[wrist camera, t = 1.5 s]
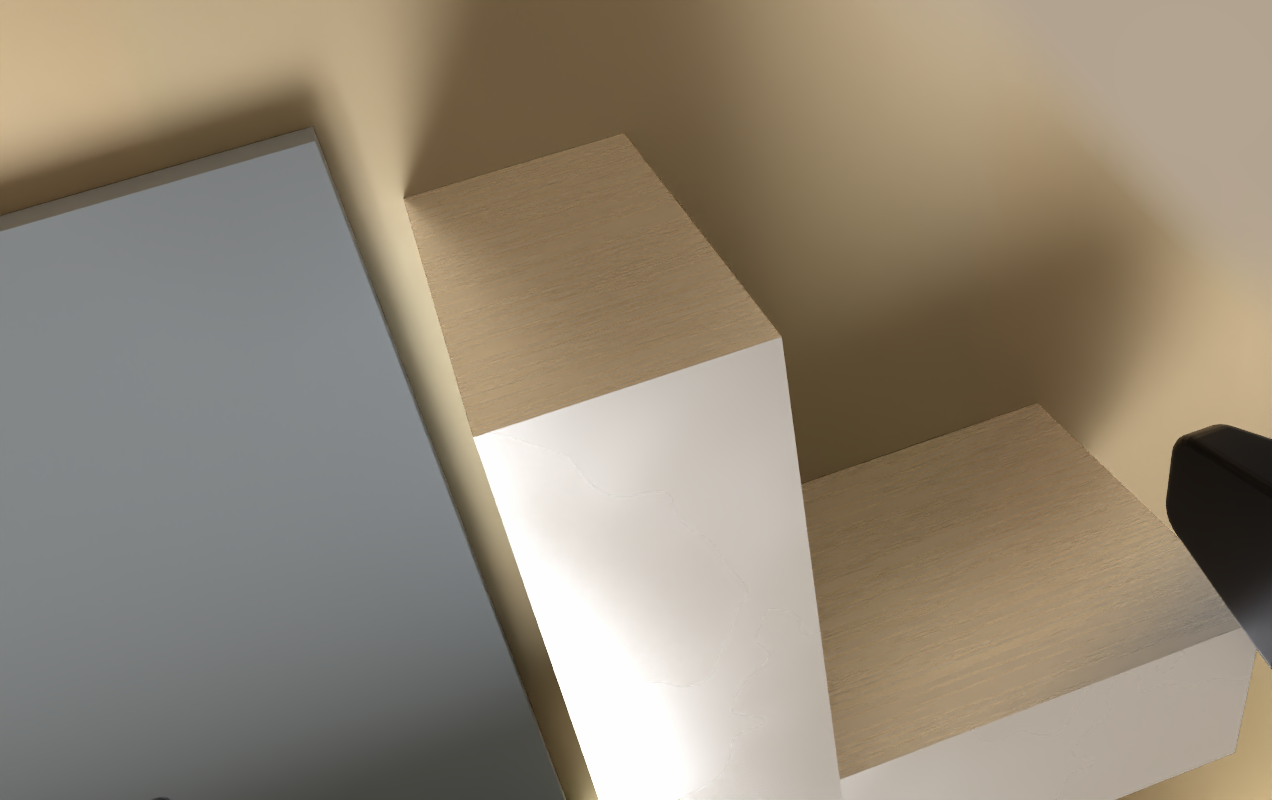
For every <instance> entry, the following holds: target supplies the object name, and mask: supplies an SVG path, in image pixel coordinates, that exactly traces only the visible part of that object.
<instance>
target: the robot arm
mask: <svg viewBox="0 0 1272 800" xmlns="http://www.w3.org/2000/svg"><path fill="white" fill-rule="evenodd" d="M1166 509H1167V515H1168V518H1169V521H1170V523H1171V525H1172V528H1173V529H1174V531H1175V533H1176V534H1177V536H1178V537H1179V538H1180V540H1181V541H1182V543H1183V544H1184V546H1185V547H1186V549H1187V550H1188V551H1189V553H1190V554H1191V556H1192V557H1193V559H1194V560H1195V561H1196V563H1197V564H1198V566H1199V567H1200V569H1201V570H1202V572H1203V573H1204V574H1205V576H1206V577H1207V579H1208V580H1209V582H1210V583H1211V584H1212V586H1213V587H1214V589H1215V590H1216V592H1217V593H1218V595H1219V596H1220V597H1221V599H1222V600H1223V602H1224V603H1225V605H1226V606H1227V607H1228V609H1229V610H1230V612H1231V613H1232V615H1233V616H1234V618H1235V619H1236V620H1237V622H1238V623H1239V625H1240V626H1241V628H1242V629H1243V630H1244V632H1245V633H1246V635H1247V636H1248V638H1249V639H1250V641H1251V642H1252V643H1253V645H1254V646H1255V648H1256V649H1257V650H1258V652H1259V653H1260V654H1261V656H1262V657H1263V658H1264V660H1265V661H1266V662H1267V664H1268V665H1269V666H1270V668H1271V669H1272V439H1270V438H1267V437H1264V436H1261V435H1258V434H1254V433H1251V432H1248V431H1245V430H1242V429H1239V428H1236V427H1233V426H1229V425H1223V424H1218V425H1212V426H1209V427H1206V428H1203V429H1201V430H1198V431H1195V432H1192V433H1189V434H1186V435H1184V436H1182V437H1180V438H1179V439H1178V440H1177V442H1176V443H1175V444H1174V446H1173V450H1172V457H1171V465H1170V473H1169V481H1168V489H1167V497H1166ZM151 800H171V799H169V798H167V797H157V798H154V799H151Z"/></svg>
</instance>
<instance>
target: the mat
mask: <svg viewBox="0 0 1272 800" xmlns="http://www.w3.org/2000/svg"><path fill="white" fill-rule="evenodd" d="M157 797H167V798H169V799H171V800H565V799H564V796H563V792H562V788H561V785H560V782H559V779H558V776H557V774H556V771H555V768H554V766H553V763H552V760H551V758H550V755H549V752H548V750H547V747H546V744H545V742H544V739H543V736H542V734H541V731H540V728H539V726H538V723H537V720H536V718H535V715H534V712H533V710H532V707H531V704H530V702H529V699H528V697H527V694H526V691H525V689H524V686H523V683H522V681H521V678H520V675H519V673H518V670H517V667H516V665H515V662H514V659H513V657H512V654H511V651H510V649H509V646H508V643H507V641H506V638H505V635H504V633H503V630H502V627H501V625H500V622H499V619H498V617H497V614H496V612H495V609H494V606H493V604H492V601H491V598H490V596H489V593H488V590H487V588H486V585H485V582H484V580H483V577H482V574H481V572H480V569H479V566H478V564H477V561H476V558H475V556H474V553H473V550H472V548H471V545H470V542H469V540H468V537H467V534H466V532H465V529H464V527H463V524H462V521H461V519H460V516H459V513H458V511H457V508H456V505H455V503H454V500H453V497H452V495H451V492H450V489H449V487H448V484H447V481H446V479H445V476H444V473H443V471H442V468H441V465H440V463H439V460H438V457H437V455H436V452H435V449H434V447H433V444H432V442H431V439H430V436H429V434H428V431H427V428H426V426H425V423H424V420H423V418H422V415H421V412H420V410H419V407H418V404H417V402H416V399H415V396H414V394H413V391H412V388H411V386H410V383H409V380H408V378H407V375H406V372H405V370H404V367H403V364H402V362H401V359H400V357H399V354H398V351H397V349H396V346H395V343H394V341H393V338H392V335H391V333H390V330H389V327H388V325H387V322H386V319H385V317H384V314H383V311H382V309H381V306H380V303H379V301H378V298H377V295H376V293H375V290H374V287H373V285H372V282H371V279H370V277H369V274H368V272H367V269H366V266H365V264H364V261H363V258H362V256H361V253H360V250H359V248H358V245H357V242H356V240H355V237H354V234H353V232H352V229H351V226H350V224H349V221H348V218H347V216H346V213H345V210H344V208H343V205H342V202H341V200H340V197H339V194H338V192H337V189H336V186H335V184H334V181H333V179H332V176H331V173H330V171H329V168H328V165H327V163H326V160H325V157H324V155H323V152H322V149H321V147H320V144H319V141H318V139H317V136H316V133H315V131H314V128H313V126H312V127H309V128H305V129H302V130H298V131H295V132H291V133H288V134H284V135H281V136H277V137H274V138H270V139H267V140H263V141H260V142H256V143H253V144H249V145H246V146H242V147H239V148H235V149H232V150H228V151H225V152H221V153H218V154H215V155H211V156H208V157H204V158H201V159H197V160H194V161H190V162H187V163H183V164H180V165H176V166H173V167H169V168H166V169H162V170H159V171H155V172H152V173H148V174H145V175H141V176H138V177H134V178H131V179H127V180H124V181H120V182H117V183H113V184H110V185H106V186H103V187H99V188H96V189H92V190H89V191H85V192H82V193H78V194H75V195H71V196H68V197H64V198H61V199H57V200H54V201H50V202H47V203H43V204H40V205H37V206H33V207H30V208H26V209H23V210H19V211H16V212H12V213H9V214H5V215H2V216H0V800H151V799H154V798H157Z"/></svg>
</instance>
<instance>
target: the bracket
mask: <svg viewBox="0 0 1272 800" xmlns="http://www.w3.org/2000/svg"><path fill="white" fill-rule="evenodd" d="M404 203H405V206H406V209H407V213H408V216H409V220H410V223H411V227H412V230H413V233H414V237H415V240H416V244H417V247H418V250H419V254H420V257H421V261H422V264H423V268H424V271H425V274H426V278H427V281H428V285H429V288H430V291H431V295H432V298H433V302H434V305H435V309H436V312H437V315H438V319H439V322H440V326H441V329H442V333H443V336H444V339H445V343H446V346H447V350H448V353H449V356H450V360H451V363H452V367H453V370H454V374H455V377H456V380H457V384H458V387H459V391H460V394H461V398H462V401H463V404H464V408H465V411H466V415H467V418H468V421H469V425H470V428H471V432H472V435H473V438H474V441H475V444H476V447H477V450H478V453H479V456H480V459H481V461H482V464H483V467H484V470H485V473H486V476H487V479H488V482H489V484H490V487H491V490H492V493H493V496H494V499H495V502H496V505H497V507H498V510H499V513H500V516H501V519H502V522H503V525H504V528H505V531H506V533H507V536H508V539H509V542H510V545H511V548H512V551H513V554H514V556H515V559H516V562H517V565H518V568H519V571H520V574H521V577H522V579H523V582H524V585H525V588H526V591H527V594H528V597H529V600H530V602H531V605H532V608H533V611H534V614H535V617H536V620H537V623H538V626H539V628H540V631H541V634H542V637H543V640H544V643H545V646H546V649H547V651H548V654H549V657H550V660H551V663H552V666H553V669H554V672H555V674H556V677H557V680H558V683H559V686H560V689H561V692H562V695H563V697H564V700H565V703H566V706H567V709H568V712H569V715H570V718H571V721H572V723H573V726H574V729H575V732H576V735H577V738H578V741H579V744H580V746H581V749H582V752H583V755H584V758H585V761H586V764H587V767H588V769H589V772H590V775H591V778H592V781H593V784H594V787H595V790H596V792H597V795H598V798H599V800H1116V799H1119V798H1121V797H1124V796H1126V795H1129V794H1131V793H1134V792H1136V791H1139V790H1142V789H1144V788H1147V787H1149V786H1152V785H1154V784H1157V783H1159V782H1162V781H1164V780H1167V779H1169V778H1172V777H1174V776H1177V775H1180V774H1182V773H1185V772H1187V771H1190V770H1192V769H1195V768H1197V767H1200V766H1202V765H1205V764H1207V763H1210V762H1212V761H1215V760H1218V759H1220V758H1223V757H1225V756H1228V755H1230V754H1233V753H1235V750H1236V745H1237V741H1238V736H1239V731H1240V726H1241V721H1242V717H1243V712H1244V707H1245V702H1246V698H1247V693H1248V688H1249V683H1250V678H1251V674H1252V669H1253V664H1254V659H1255V654H1256V650H1257V649H1256V648H1255V646H1254V645H1253V643H1252V642H1251V641H1250V639H1249V638H1248V636H1247V635H1246V633H1245V632H1244V630H1243V629H1242V628H1241V626H1240V625H1239V623H1238V622H1237V620H1236V619H1235V618H1234V616H1233V615H1232V613H1231V612H1230V610H1229V609H1228V607H1227V606H1226V605H1225V603H1224V602H1223V600H1222V599H1221V597H1220V596H1219V595H1218V593H1217V592H1216V590H1215V589H1214V587H1213V586H1212V584H1211V583H1210V582H1209V580H1208V579H1207V577H1206V576H1205V574H1204V573H1203V572H1202V570H1201V569H1200V567H1199V566H1198V564H1197V563H1196V561H1195V560H1194V559H1193V557H1192V556H1191V554H1190V553H1189V551H1188V550H1187V549H1186V547H1185V546H1184V544H1183V543H1182V541H1181V540H1180V539H1179V538H1178V537H1176V536H1175V535H1174V534H1173V533H1172V532H1171V531H1170V530H1169V529H1168V528H1167V527H1166V526H1165V525H1164V524H1163V523H1162V522H1161V521H1160V520H1159V519H1158V518H1157V517H1156V516H1155V515H1154V514H1153V513H1151V512H1150V511H1149V510H1148V509H1147V508H1146V507H1145V506H1144V505H1143V504H1142V503H1141V502H1140V501H1139V500H1138V499H1137V498H1136V497H1135V496H1134V495H1133V494H1132V493H1131V492H1130V491H1129V490H1127V489H1126V488H1125V487H1124V486H1123V485H1122V484H1121V483H1120V482H1119V481H1118V480H1117V479H1116V478H1115V477H1114V476H1113V475H1112V474H1111V473H1110V472H1109V471H1108V470H1107V469H1106V468H1105V467H1103V466H1102V465H1101V464H1100V463H1099V462H1098V461H1097V460H1096V459H1095V458H1094V457H1093V456H1092V455H1091V454H1090V453H1089V452H1088V451H1087V450H1086V449H1085V448H1084V447H1083V446H1082V445H1081V444H1079V443H1078V442H1077V441H1076V440H1075V439H1074V438H1073V437H1072V436H1071V435H1070V434H1069V433H1068V432H1067V431H1066V430H1065V429H1064V428H1063V427H1062V426H1061V425H1060V424H1059V423H1058V422H1057V421H1056V420H1054V419H1053V418H1052V417H1051V416H1050V415H1049V414H1048V413H1047V412H1046V411H1045V410H1044V409H1043V408H1042V407H1041V406H1040V405H1039V404H1038V403H1036V404H1033V405H1030V406H1027V407H1024V408H1021V409H1018V410H1015V411H1012V412H1009V413H1007V414H1004V415H1001V416H998V417H995V418H992V419H989V420H986V421H983V422H980V423H977V424H975V425H972V426H969V427H966V428H963V429H960V430H957V431H954V432H951V433H948V434H946V435H943V436H940V437H937V438H934V439H931V440H928V441H925V442H922V443H919V444H916V445H914V446H911V447H908V448H905V449H902V450H899V451H896V452H893V453H890V454H887V455H884V456H882V457H879V458H876V459H873V460H870V461H867V462H864V463H861V464H858V465H855V466H853V467H850V468H847V469H844V470H841V471H838V472H835V473H832V474H829V475H826V476H823V477H821V478H818V479H815V480H812V481H809V482H806V483H803V484H801V480H800V472H799V464H798V457H797V449H796V442H795V434H794V426H793V419H792V411H791V403H790V396H789V388H788V381H787V373H786V365H785V358H784V350H783V342H782V336H781V335H780V334H779V333H778V331H777V330H776V329H775V327H774V326H773V325H772V324H771V322H770V321H769V320H768V318H767V317H766V316H765V315H764V313H763V312H762V311H761V309H760V308H759V307H758V306H757V304H756V303H755V302H754V300H753V299H752V298H751V297H750V295H749V294H748V293H747V291H746V290H745V289H744V288H743V286H742V285H741V284H740V282H739V281H738V280H737V278H736V277H735V276H734V275H733V273H732V272H731V271H730V269H729V268H728V267H727V266H726V264H725V263H724V262H723V260H722V259H721V258H720V257H719V255H718V254H717V253H716V251H715V250H714V249H713V248H712V246H711V245H710V244H709V242H708V241H707V240H706V239H705V237H704V236H703V235H702V233H701V232H700V231H699V230H698V228H697V227H696V226H695V224H694V223H693V222H692V221H691V219H690V218H689V217H688V215H687V214H686V213H685V211H684V210H683V209H682V208H681V206H680V205H679V204H678V202H677V201H676V200H675V199H674V197H673V196H672V195H671V193H670V192H669V191H668V190H667V188H666V187H665V186H664V184H663V183H662V182H661V181H660V179H659V178H658V177H657V175H656V174H655V173H654V172H653V170H652V169H651V168H650V166H649V165H648V164H647V163H646V161H645V160H644V159H643V157H642V156H641V155H640V154H639V152H638V151H637V150H636V148H635V147H634V146H633V145H632V143H631V142H630V141H629V139H628V138H627V137H626V135H625V134H624V133H622V134H619V135H615V136H612V137H609V138H605V139H602V140H599V141H595V142H592V143H588V144H585V145H582V146H578V147H575V148H572V149H568V150H565V151H562V152H558V153H555V154H551V155H548V156H545V157H541V158H538V159H535V160H531V161H528V162H525V163H521V164H518V165H514V166H511V167H508V168H504V169H501V170H498V171H494V172H491V173H488V174H484V175H481V176H477V177H474V178H471V179H467V180H464V181H461V182H457V183H454V184H451V185H447V186H444V187H441V188H437V189H434V190H430V191H427V192H424V193H420V194H417V195H414V196H410V197H407V198H404Z"/></svg>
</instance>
